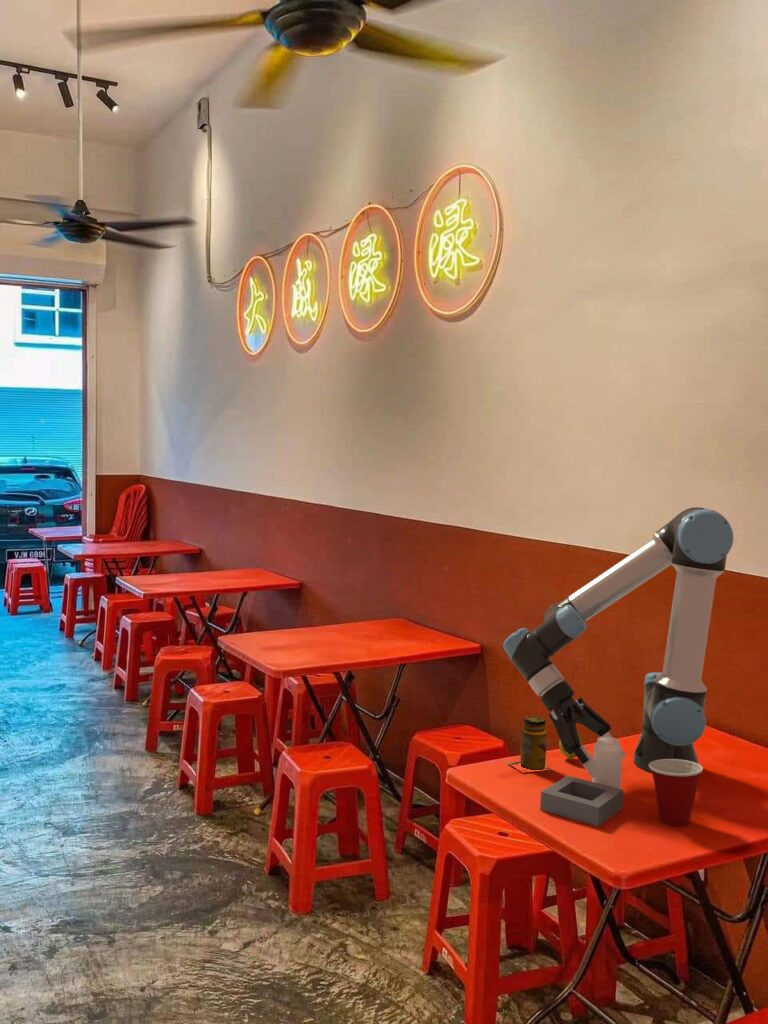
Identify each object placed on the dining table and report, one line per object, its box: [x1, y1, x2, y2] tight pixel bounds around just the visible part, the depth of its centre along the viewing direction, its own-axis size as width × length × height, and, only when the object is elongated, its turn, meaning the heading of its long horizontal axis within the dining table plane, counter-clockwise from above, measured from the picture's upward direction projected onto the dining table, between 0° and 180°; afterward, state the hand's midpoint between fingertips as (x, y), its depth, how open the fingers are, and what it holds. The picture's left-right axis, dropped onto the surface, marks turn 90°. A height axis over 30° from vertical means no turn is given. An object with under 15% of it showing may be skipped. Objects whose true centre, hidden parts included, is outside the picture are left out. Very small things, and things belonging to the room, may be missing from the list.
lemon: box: [558, 732, 583, 760], centre depth 219 cm, size 6×6×8 cm
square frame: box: [539, 775, 624, 828], centre depth 187 cm, size 13×13×4 cm
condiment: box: [506, 715, 553, 771], centre depth 213 cm, size 7×8×12 cm
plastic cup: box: [649, 759, 704, 827], centre depth 182 cm, size 11×11×12 cm
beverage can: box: [591, 736, 623, 789], centre depth 197 cm, size 6×6×12 cm
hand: (609, 766), depth 197 cm, fingers open, 13 cm apart
